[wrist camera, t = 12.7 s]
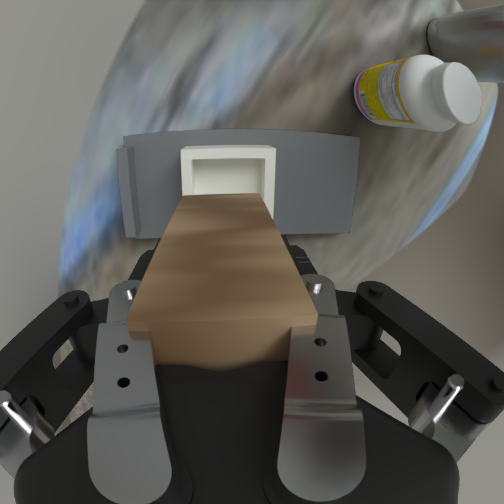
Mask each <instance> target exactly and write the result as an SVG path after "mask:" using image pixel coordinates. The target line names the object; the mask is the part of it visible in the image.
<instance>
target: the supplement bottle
mask: <svg viewBox="0 0 504 504" xmlns="http://www.w3.org/2000/svg"><path fill="white" fill-rule="evenodd" d="M354 98H355V101H356V104H357V106H358V108H359V110H360V111H361V113H362V114H363V115H364V116H365V117H366V118H367V119H368V120H370V121H371V122H373V123H375V124H378V125H384V126H392V127H402V128H411V129H418V130H425V131H431V132H444V131H447V130H449V129H451V128H453V127H454V126H455V125H456V124H466V125H469V124H472V123H474V122H475V121H476V120H477V119H478V117H479V115H480V112H481V107H482V97H481V91H480V88H479V85H478V82H477V80H476V78H475V76H474V75H473V74H472V72H471V71H470V70H469V69H468V68H467V67H466V66H464V65H463V64H461V63H457V62H452V63H444V62H443V61H441V60H440V59H438V58H436V57H434V56H430V55H416V56H411V57H407V58H403V59H399V60H395V61H391V62H387V63H383V64H379V65H375V66H372V67H369V68H367V69H365V70H363V71H362V72H361V73H360V74H359V75H358V77H357V78H356V80H355V84H354Z"/></svg>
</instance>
